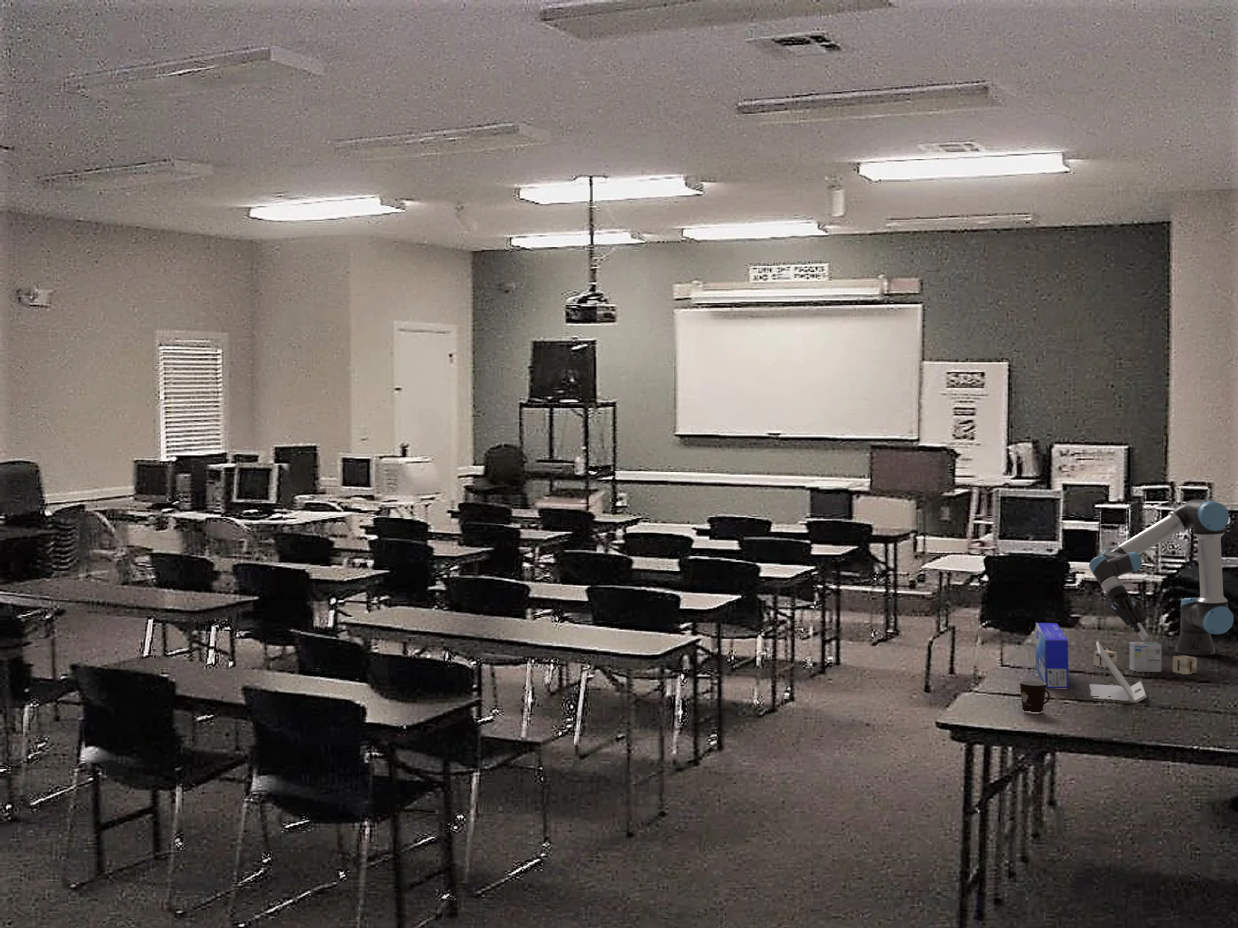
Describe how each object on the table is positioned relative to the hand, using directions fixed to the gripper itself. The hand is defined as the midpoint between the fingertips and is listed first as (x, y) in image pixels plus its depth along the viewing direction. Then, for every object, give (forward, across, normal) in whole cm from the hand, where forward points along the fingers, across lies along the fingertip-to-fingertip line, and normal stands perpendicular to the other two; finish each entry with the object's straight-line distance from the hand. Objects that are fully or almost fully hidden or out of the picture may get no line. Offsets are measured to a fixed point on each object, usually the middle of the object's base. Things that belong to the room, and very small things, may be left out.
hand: (1145, 638), depth 524 cm
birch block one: (+16, -11, -2) cm, 19 cm away
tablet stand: (+31, +42, +13) cm, 53 cm away
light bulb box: (+9, 0, -9) cm, 13 cm away
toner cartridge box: (+9, +46, -9) cm, 47 cm away
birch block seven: (+1, +9, -17) cm, 20 cm away
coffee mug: (+40, +90, +23) cm, 101 cm away
